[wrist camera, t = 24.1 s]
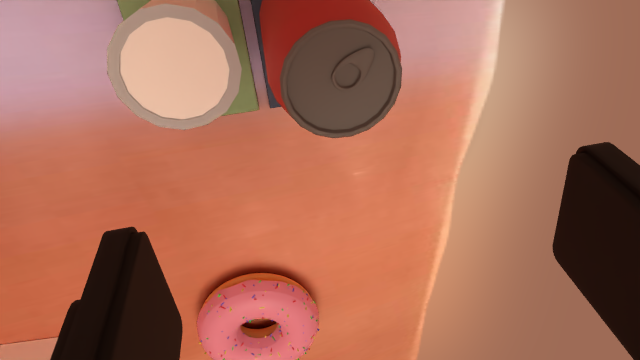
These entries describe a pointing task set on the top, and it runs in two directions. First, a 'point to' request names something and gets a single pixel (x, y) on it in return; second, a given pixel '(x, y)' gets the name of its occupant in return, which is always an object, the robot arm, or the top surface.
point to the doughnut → (258, 303)
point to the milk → (28, 350)
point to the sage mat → (229, 4)
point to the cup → (175, 63)
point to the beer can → (331, 63)
